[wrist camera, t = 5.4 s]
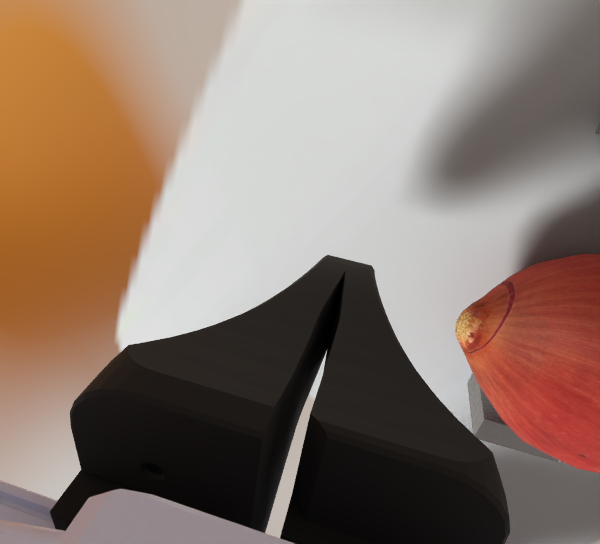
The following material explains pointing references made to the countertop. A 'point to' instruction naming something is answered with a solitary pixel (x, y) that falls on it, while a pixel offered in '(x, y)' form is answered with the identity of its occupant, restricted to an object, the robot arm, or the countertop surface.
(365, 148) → the countertop surface
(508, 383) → the onion
